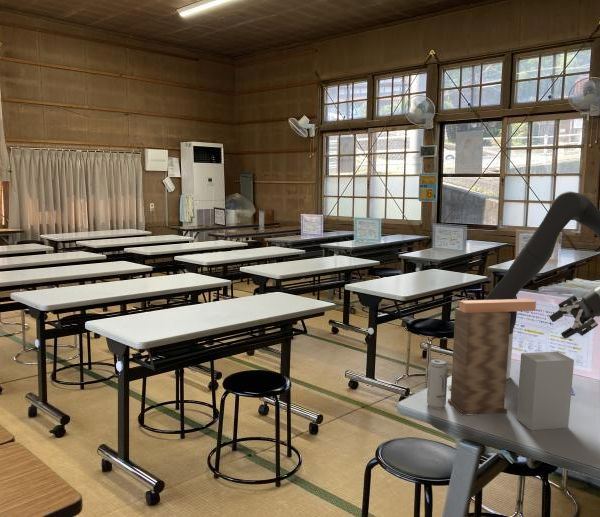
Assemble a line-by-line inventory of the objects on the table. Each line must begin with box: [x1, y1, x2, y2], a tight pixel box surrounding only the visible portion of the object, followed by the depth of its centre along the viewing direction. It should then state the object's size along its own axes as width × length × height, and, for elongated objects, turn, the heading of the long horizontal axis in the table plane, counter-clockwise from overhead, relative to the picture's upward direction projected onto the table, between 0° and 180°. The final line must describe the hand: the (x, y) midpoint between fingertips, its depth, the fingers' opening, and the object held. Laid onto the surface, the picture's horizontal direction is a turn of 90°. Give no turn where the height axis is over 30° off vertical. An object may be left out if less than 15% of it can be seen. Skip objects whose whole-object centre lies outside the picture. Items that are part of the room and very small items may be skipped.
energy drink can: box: [426, 358, 449, 410], centre depth 179 cm, size 6×6×15 cm
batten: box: [458, 298, 537, 313], centre depth 175 cm, size 24×4×3 cm, turn 100°
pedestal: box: [447, 307, 511, 416], centre depth 177 cm, size 15×10×32 cm
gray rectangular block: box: [516, 351, 575, 431], centre depth 167 cm, size 12×8×21 cm, turn 100°
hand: (556, 327), depth 176 cm, fingers open, 8 cm apart
